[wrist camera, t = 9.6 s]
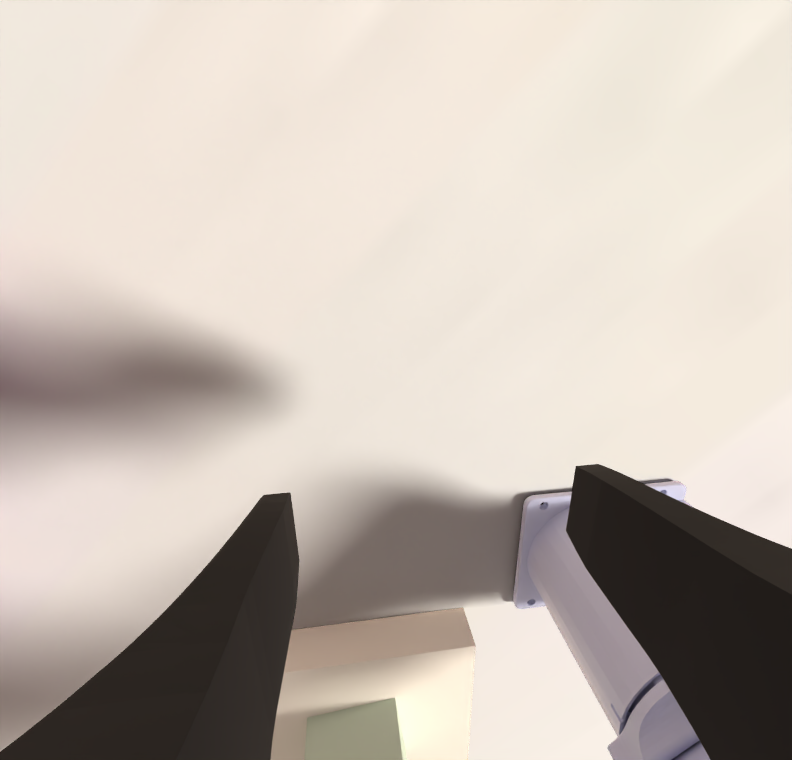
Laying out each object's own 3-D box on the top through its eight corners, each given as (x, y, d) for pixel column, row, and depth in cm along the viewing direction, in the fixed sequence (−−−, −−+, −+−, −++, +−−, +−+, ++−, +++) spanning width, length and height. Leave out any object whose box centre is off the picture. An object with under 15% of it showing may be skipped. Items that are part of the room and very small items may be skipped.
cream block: (460, 599, 25) (475, 645, 22) (454, 723, 29) (466, 775, 26) (226, 629, 23) (211, 683, 21) (256, 755, 28) (246, 814, 25)
